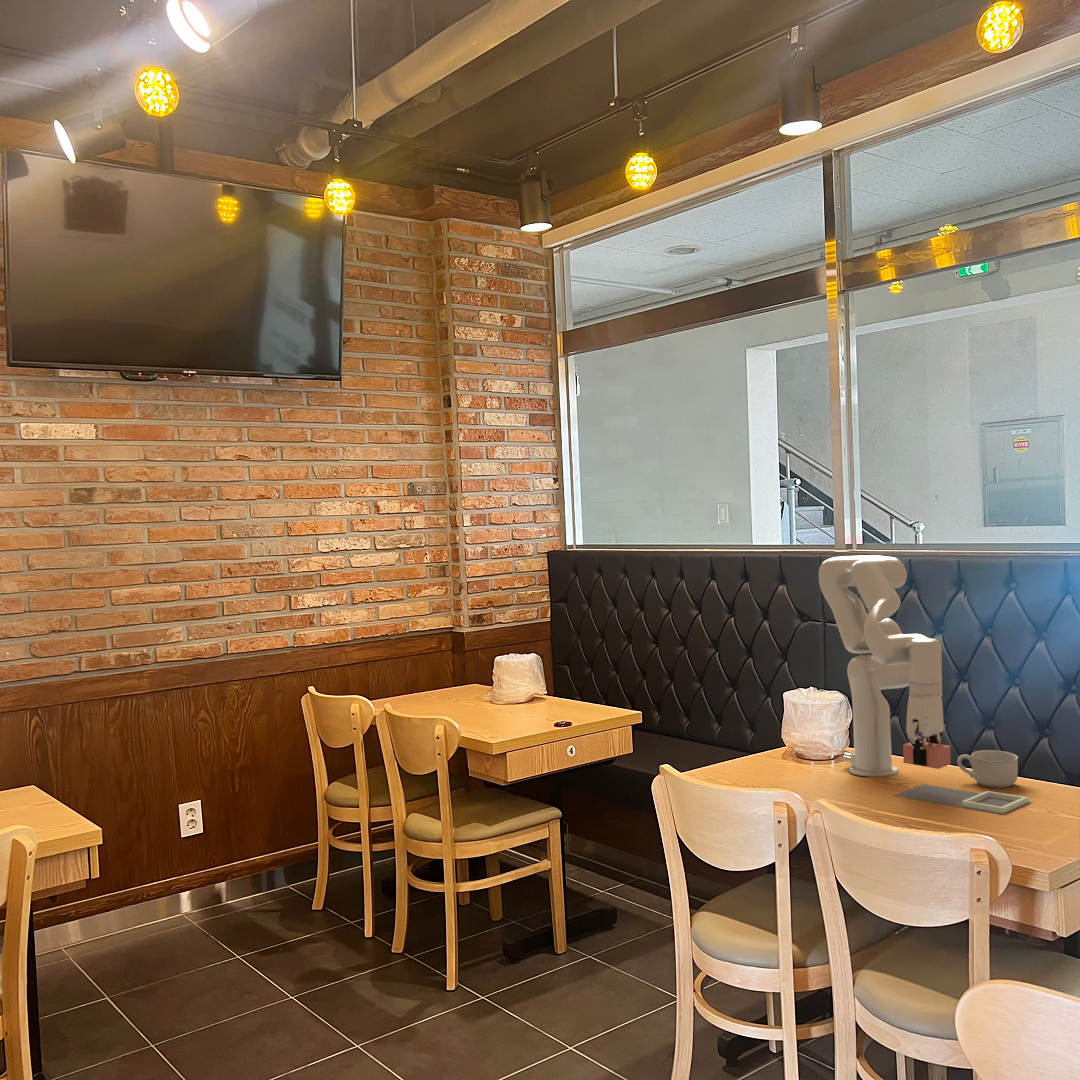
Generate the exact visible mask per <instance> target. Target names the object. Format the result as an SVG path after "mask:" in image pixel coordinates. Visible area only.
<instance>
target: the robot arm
mask: <svg viewBox="0 0 1080 1080" xmlns="http://www.w3.org/2000/svg"><path fill="white" fill-rule="evenodd" d="M907 574H908V573H907V570H906V567H905V565H904V563H903V562H902V561H901V560H900V559H899V558H897V557H894V556H885V555H872V554H871V555H869V554H868V555H845V556H833V557H830V558H828V559H825V560H824V561H822V563H821V564H820V567H819V569H818V582H819V587H820V591H821V593H822V595H823V596H824V599H825V600H826V602H827V604H828V605H829V607H830V609H831V611H832V613H833V617H834V620H835V623H836V626H837V628H838V632H839V635H840V638H841V641H842V643H843V646H844V649H846V651H848V652H849V653H852V654H860V655H858V656H855V657H853V658H851V659H850V661H849V662H848V665H847V668H846V672H847V679H848V683H849V686H850V692H851V701H852V703H851V704H852V705H851V706H852V720H853V721H852V723H853V726H852V727H853V750H854V751H853V753H851V752H844V753H843V756H842V760H843V761H844V762H850V765H849V767H848V772H850V773H851V774H852V775H856V776H860V777H869V778H871V777H886V776H893V775H897V774H898V773H899V768H898V767H897V766H896V765H893V762H892V760H893V759H892V735H891V733H892V732H891V710H890V705H889V702H888V700H887V699H886V698H885V696H884V695H883V693H882V690H884V691H885V690H891V689H904V688H906V687H908V689H909V690H908V694H909V696H908V701H907V709H906V734H907V738H908V740H909V742H911V744H912V748H913V764H912V765H914V764H915V765H914V766H919V765H920V767H925V766H926V765H927V757H926V749H925V743H926V742H929V743H935V744H942V739H941V738H942V736H943V732H944V729H945V725H944V707H943V700H942V699H943V698H942V697H943V675H942V674H943V671H942V670H943V669H942V668H943V667H942V665H943V664H942V662H943V661H942V644H941V642H940V640H938V639H937V638H930V637H927V636H926V635H924V634H921V633H906V634H905V633H902V630H901V628H900V626H899V625H898V623H897V622H896V621H895V620H894V619H892V618H890V617H892V615H894V614H896V612H897V611H898V610H899V609H900V607H901V602H902V601H901V598H900V596H899V594H898V593H897V591H896V589H899V588H901V587H903V586H904V585H905V584H906V581H907V579H908V578H907V577H908V575H907ZM849 587H855V589H856V590H857V591H858V594H859V596H860V597H859V596H858V595H857V594H855V593H854V592H853V591H852V590H850V589H849ZM860 598H861V599H860ZM866 609H867V611H868V612H867V611H866ZM919 734H920V735H919ZM920 741H921V743H920Z"/></svg>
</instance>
